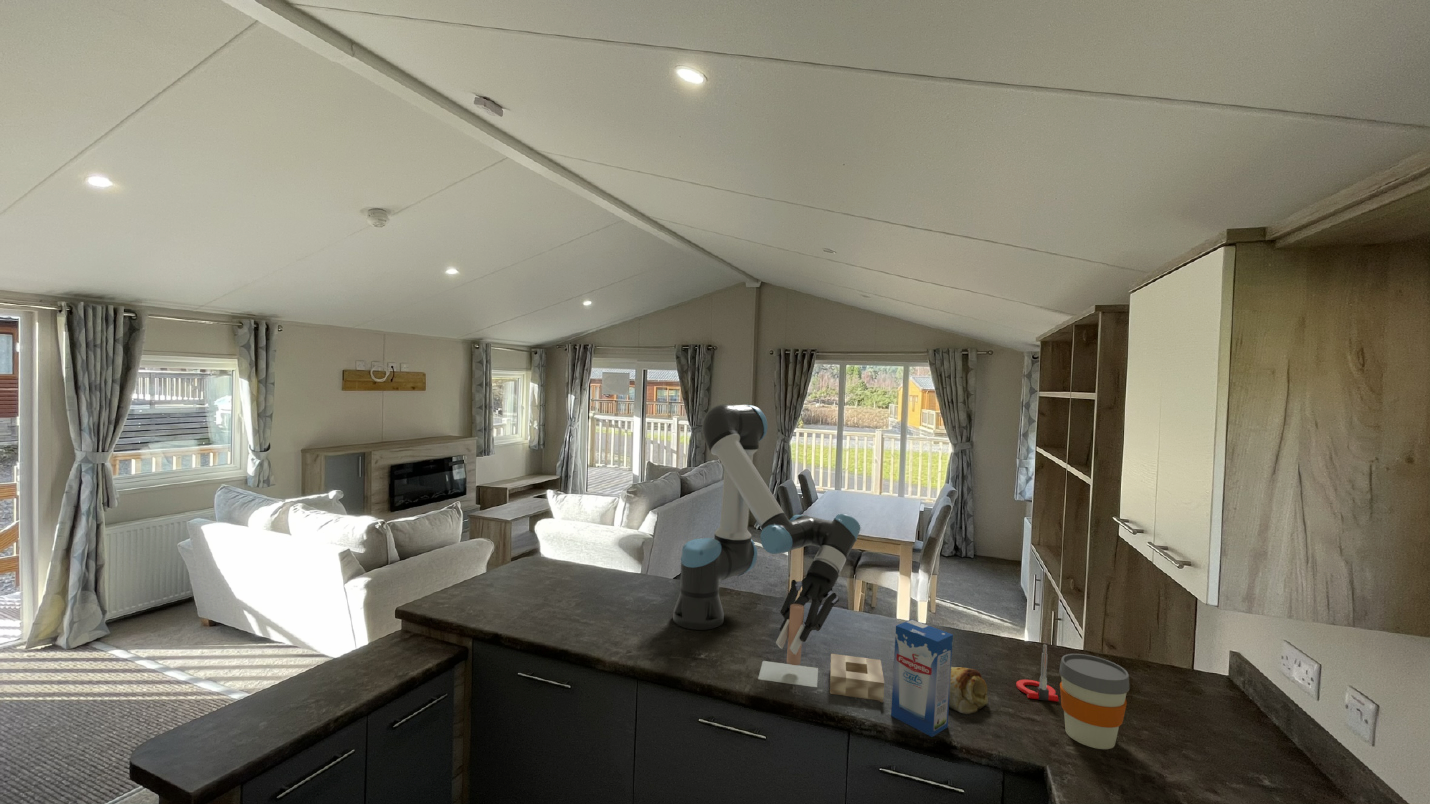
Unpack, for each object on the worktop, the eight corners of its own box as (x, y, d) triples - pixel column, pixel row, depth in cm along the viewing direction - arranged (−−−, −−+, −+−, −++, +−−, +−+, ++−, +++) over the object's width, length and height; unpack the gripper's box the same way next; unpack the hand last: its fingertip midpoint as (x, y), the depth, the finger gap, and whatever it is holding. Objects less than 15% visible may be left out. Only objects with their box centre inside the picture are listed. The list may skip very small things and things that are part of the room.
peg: (786, 664, 148) (789, 607, 148) (787, 657, 152) (790, 602, 151) (799, 666, 148) (803, 609, 147) (800, 659, 151) (804, 604, 150)
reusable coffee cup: (1053, 739, 126) (1057, 668, 126) (1058, 713, 136) (1062, 648, 136) (1125, 762, 119) (1130, 687, 119) (1125, 733, 130) (1129, 664, 129)
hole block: (829, 694, 140) (830, 675, 140) (830, 671, 152) (831, 653, 152) (883, 702, 138) (884, 683, 138) (879, 677, 150) (880, 659, 150)
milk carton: (890, 715, 132) (895, 625, 132) (906, 706, 136) (911, 619, 136) (932, 737, 125) (937, 641, 124) (948, 727, 129) (953, 634, 128)
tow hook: (1011, 682, 152) (1024, 699, 142) (1014, 630, 152) (1027, 644, 143) (1047, 686, 150) (1062, 703, 141) (1049, 634, 151) (1065, 648, 141)
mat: (757, 680, 145) (757, 679, 145) (762, 662, 155) (762, 660, 155) (816, 688, 143) (817, 687, 143) (818, 669, 153) (818, 668, 153)
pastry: (985, 721, 132) (987, 684, 132) (925, 704, 138) (927, 670, 138) (989, 693, 145) (991, 660, 145) (934, 679, 151) (936, 647, 150)
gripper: (858, 583, 155) (820, 668, 143) (804, 567, 166) (764, 644, 154) (850, 567, 151) (809, 653, 139) (794, 551, 162) (752, 629, 150)
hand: (785, 648), depth 147 cm, fingers closed on peg, 3 cm apart
